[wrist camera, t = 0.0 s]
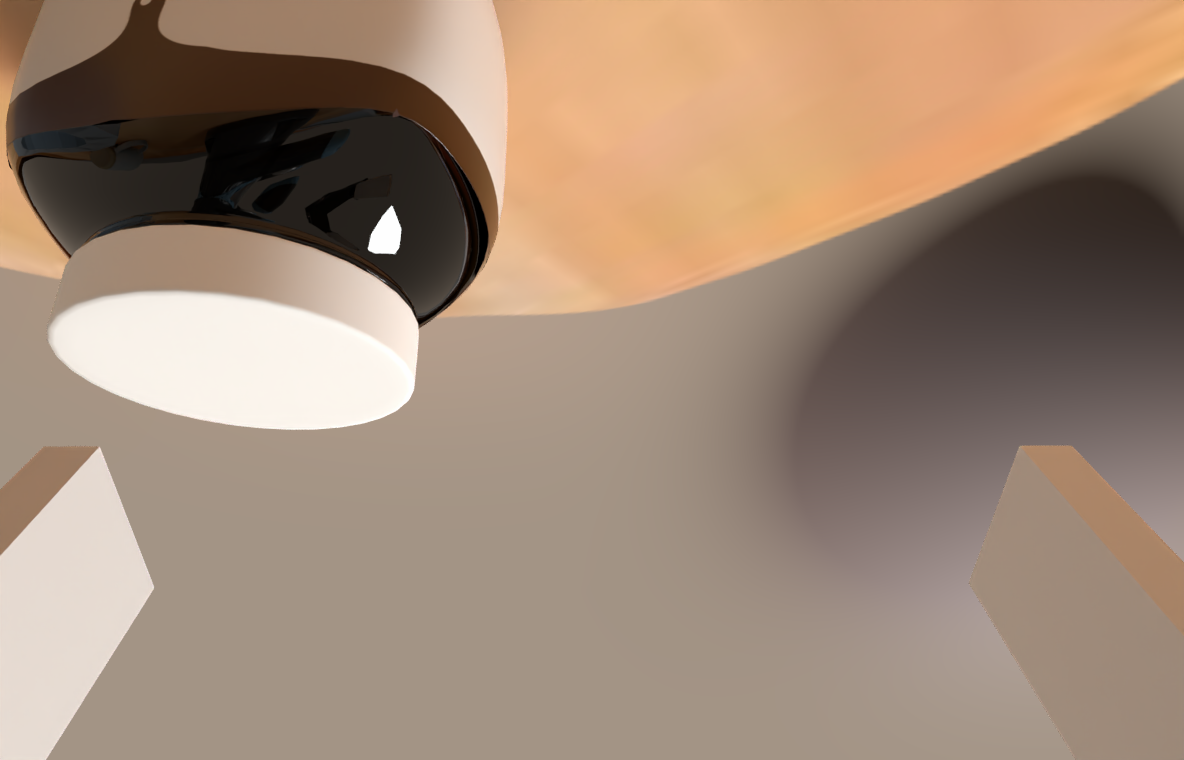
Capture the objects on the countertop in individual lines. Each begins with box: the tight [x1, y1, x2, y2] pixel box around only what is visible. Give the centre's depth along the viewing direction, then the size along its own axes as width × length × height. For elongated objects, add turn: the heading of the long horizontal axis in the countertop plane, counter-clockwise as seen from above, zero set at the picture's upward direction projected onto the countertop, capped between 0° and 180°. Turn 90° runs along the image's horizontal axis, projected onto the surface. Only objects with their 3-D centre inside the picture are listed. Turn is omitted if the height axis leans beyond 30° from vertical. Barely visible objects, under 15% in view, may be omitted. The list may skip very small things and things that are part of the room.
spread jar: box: [6, 0, 507, 430], centre depth 20 cm, size 12×11×12 cm
